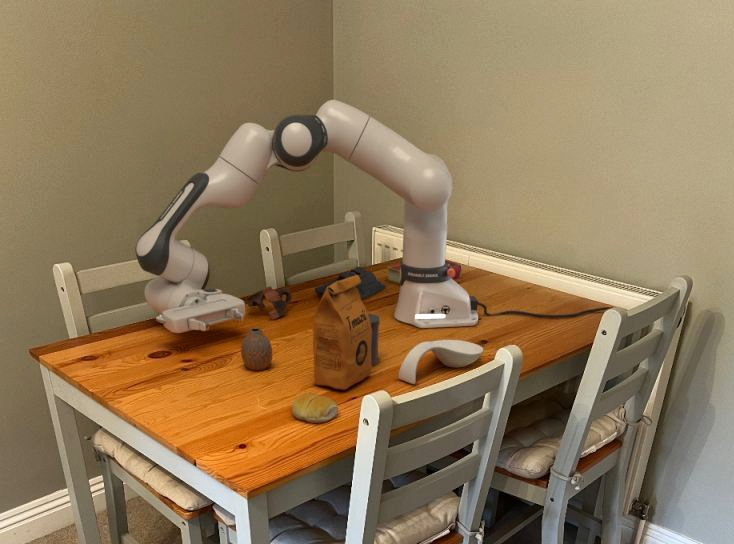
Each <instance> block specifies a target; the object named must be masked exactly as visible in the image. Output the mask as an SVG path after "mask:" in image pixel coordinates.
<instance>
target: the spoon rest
mask: <svg viewBox="0 0 734 544" xmlns="http://www.w3.org/2000/svg"><path fill="white" fill-rule="evenodd" d="M430 351H431V352H432V353H433V355H434V356H435V357H436V358H437V360H439V361H440V362H441V364H442V365H444V366H446V367H450V368H465V367H467V366H468V365H471V364H473V363H475V362H476V361H477V360H478V359H480V358H481V356H482V355H483V354H484V348H483V347H482V346H481V345H479V344H476V343H473V342H470V341H466V340H459V339H440V340H434V341H422V342H420V343H418V344H416V345H415V346H414V347H412V349H411V350H410V351H409V352H408V353H407V354H406V356H405V357H404V359H403V361H402V363H401V365H400V368H399V371H398V375H397V377H398V380H400V381H403V382H406V383H408V384H412V385H415V384H416V381H417V379H416V378H417V369H418V365H419V362H420V360H421V359H422V357H424V356H425V354H427V353H429V352H430Z"/></svg>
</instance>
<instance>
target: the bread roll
mask: <svg viewBox="0 0 734 544" xmlns="http://www.w3.org/2000/svg"><path fill="white" fill-rule="evenodd" d="M291 412H292V414H293V416H294V417H295V418H296V419H297V420H300V421H306V422H308V423H313V424H320V423H325V422H329V421H330V420H333V418H335V417H336V416H337V415H338V412H339V408H338V403H337V402H336V401H335V400H334V399H333V398H331V397H329V396H328V395H318V394H317V393H314V392H306V393H303V394H299V395H298V396H297V397H295V399H294V400H293V402H292V405H291Z"/></svg>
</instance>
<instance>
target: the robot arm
mask: <svg viewBox="0 0 734 544" xmlns="http://www.w3.org/2000/svg"><path fill="white" fill-rule="evenodd" d="M323 152H327V153H328V152H329V153H332V154H334V155H336V156H339V157H340V158H341V159H343V160H345V161H346V162H347V163H349V164H351V165H353V166H355V167H356V168H357V169H359V170H360V171H363V172H364V173H365V174H367V175H369V176H371V177H373V178H374V179H375V180H377V181H379V182H380V183H381V184H383V186H385V187H387V188H388V189H389V190H391V191H392V192H394V193H395V194H396V195H397V196H399V197H401V199H403V200H404V201H403V233H402V234H403V235H402V236H403V237H402V239H403V240H402V255H401V256H402V257H401V258H402V259H401V260H402V261H400V264H401V265H400V276H399V282H400V285H399V294H398V298H397V303H396V307H395V310H394V313H393V318H395V320H397V321H400V322H401V323H405V324H409V325H413V326H414V327H416V328H419V329H434V328H435V329H436V328H455V327H456V328H457V327H473V326H475V325H477V324H478V322H479V314H478V312H477V311H478V306H480V307H481V308H483V314H484V315H485V316H487V317H492V316H493V317H494V316H502V315H503V316H504V315H507V314H516V315H517V314H518V315H524V316H532V317H536V318H571V317H575V316H579V315H583V314H587V313H595V312H601V311H608V310H607V309H609V308H613V307H612V306H605V307H604V306H603V307H599V308H592V309H585V310H581V311H578V312H574V313H567V314H545V313H544V314H543V313H533V312H528V311H521V310H505V311H501V312H498V313H493V314H491V313H489V312H488V309H487V306H486V305H485V304H484V303H483V302H479V300H478V299H477V297H476V296H475V295H469V293H468V292H467V291H466V289H465V288H463V287H462V286H461V285H460V284H459V283H457V281H455V279H452V278H453V277H454V276H455V271H454V269H452V267H451V266H450V265H449V264H447V263H445V260H446V254H447V253H446V252H447V241H448V205H449V202H448V200H450V198H451V196H452V192H453V178H452V175H451V173H450V171H449V169H448V166H447V165H446V163H445V161H444V160H443V159H442V158H440V157H439V156H438V155H436V154H432V153H426V152H425V151H423V150H421V149H419V148H418V147H417V146H415V145H414V144H413V143H411V142H410V141H409V140H407V139H405V138H404V137H403V136H402V135H400V134H399V133H397V132H396V131H394V130H393V129H391V128H390V127H388V126H386V125H385V124H384V123H382V122H380V121H378V120H377V119H375V118H374V117H372V116H370V114H368V113H365V112H364V111H362V110H360V109H358V108H356V107H354V106H352V105H350V104H348V103H346V102H343V101H340V100H337V99H330V100H327V101H325V102H324V103H323V104H322V105H321V106H320V107H319V108H318V110H317V112H316V114H291V115H289V116H285V117H284V118H282V119H281V120H280V121H279V122H278V124H276V126H275V128H274V129H273V130H269V129H266V128H265V127H264V126H262V125H260V124H258V123H255V122H244V123H243V124H241V125H240V126H239V127H238V129H237V130H236V131H235V132H234V134H233V135H231V137H230V138H229V140H228V142H227V143H226V144H225V146H224V147H223V149H222V151H221V152H220V154H219V156H218V157H217V159H216V161H215V162H214V163H213V164H212V165H211V166H210V167H209V168H208V169H206V170H205V171H204V172H197V173H195V174H194V175H192V176H191V177H190V178H189V179H188V180H187V182H186V183H185V184H184V185H183V186H182V187H181V188H180V190H178V192H177V193H176V194H175V196H174V197H173V199H172V200H171V201H170V202H169V204H168V205H167V207H166V208H165V209H164V211H163V212H162V213H161V214H160V215H159V217H158V218H157V220H156V221H155V222H154V223H153V224H152V225H151V226H150V227H149V228H148V229H146V231H144V233H143V234H142V235H141V236H140V237H139V238H138V240H137V242H136V245H135V248H134V249H135V251H134V252H135V257H136V260H137V262H138V265H139V267H140V268H141V269H142V270H143V272H146V273H148V274H150V275H151V274H152V275H155V276H158V277H156V278H153V279H151V280H149V281H148V282H147V284H146V285H145V288H144V299H145V301H146V303H147V305H148V306H149V308H150V309H151V310H152V311H154V312H155V313H156V314H158V315H157V316H156V317H155V321H156V322H158V323H160V324H163V327H164V328H165V329H167V330H168V331H169V332H171V333H173V334H181V333H186V332H190V331H193V330H194V331H201V332H206V331H209V330H210V326H213V325H216V324H221V323H225V322H229V321H232V320H233V321H234V323H240V322H243V321H244V317H245V316H246V303H245V301H244V300H243V299H241V298H239V297H237V296H234V295H232V294H228V293H223V291H222V289H219V288H213V289H212V288H209V289H206V287H207V285H208V282H209V279H210V274H211V273H210V272H211V271H210V263H209V261H208V258H207V257H206V255H205V254H203V253H202V252H199V251H198V250H196V249H195V248H193V247H191V246H189V245H187V244H185V243H184V242H182V241H180V240H178V239H176V237H177V235H178V234H179V233H180V232H181V230H182V229H183V228H184V226H185V225H186V224H187V222H188V221H189V220H190V218H191V217H192V216H193V215H194V213H196V211H198V210H199V209H202V208H205V207H216V208H221V209H238V208H242V207H244V206H247V204H248V203H250V201H251V200H252V199H253V197H254V196H255V194H256V193H257V191H258V189H259V188H260V186H261V184H262V182H263V180H264V178H265V177H266V175H267V173H268V172H269V171H270V169H271V168H273V167H274V166H276V167H279V168H282V169H284V170H287V171H291V172H303V171H306V170H309V168H311V167H312V165H314V164H315V162H316V161H317V159H318V158H319V155H320V153H323Z"/></svg>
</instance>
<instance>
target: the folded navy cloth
mask: <svg viewBox="0 0 734 544" xmlns="http://www.w3.org/2000/svg"><path fill="white" fill-rule="evenodd" d="M355 275H358V276H359V278H360V280H361V283H360V284H359V285H357V286H356V288H357V289H358V291H359V294H360V298H361V301H362V300H364V299H367V298H368V297H371V296H373V295H375V294H377V293H379V292H381V291H383V290H384V289H386V285H385V284H384V283H382V281H381V280H378V279H377V277H376V275H375V274H374V273H373V272H372V271H369V270H367V269H364V268H362V267H361V266H356V267H354V268H352V269H350V271H344V272H340V273H339V274H338V277H336V278H335V279H334V280H331V281H328V282H326V283H323V284H322V285H319V286H316V287H314V293H316V294H317V295H321V296H323V295H324V293H325V291H326V288H327V287H328V286H330V285H332V284H333V283H335V282H336V281H340V280H343V279H346V278H349V277H352V276H355Z"/></svg>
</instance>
